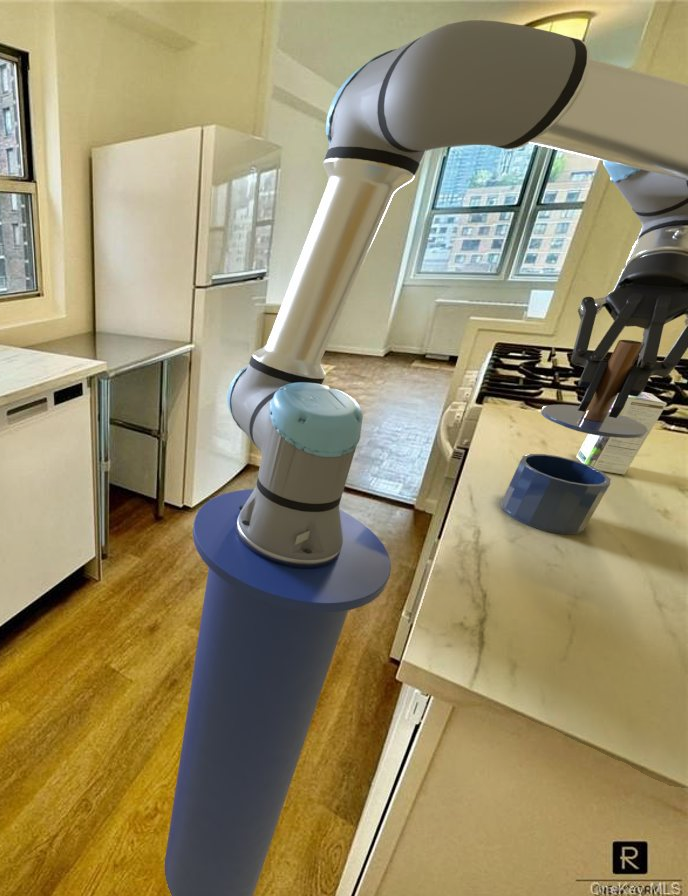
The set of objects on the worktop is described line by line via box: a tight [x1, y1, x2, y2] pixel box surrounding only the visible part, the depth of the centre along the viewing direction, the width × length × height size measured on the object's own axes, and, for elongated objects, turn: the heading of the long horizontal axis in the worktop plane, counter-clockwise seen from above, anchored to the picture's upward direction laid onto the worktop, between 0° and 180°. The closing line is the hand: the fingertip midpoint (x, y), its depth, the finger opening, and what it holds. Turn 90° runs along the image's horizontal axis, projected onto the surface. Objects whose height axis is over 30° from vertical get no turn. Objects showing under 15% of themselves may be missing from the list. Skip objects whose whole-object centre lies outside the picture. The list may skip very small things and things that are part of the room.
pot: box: [500, 453, 611, 535], centre depth 75 cm, size 10×10×8 cm
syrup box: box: [576, 391, 668, 475], centre depth 89 cm, size 6×6×14 cm
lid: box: [540, 339, 648, 438], centre depth 66 cm, size 11×11×12 cm
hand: (599, 409), depth 65 cm, fingers closed on lid, 2 cm apart
